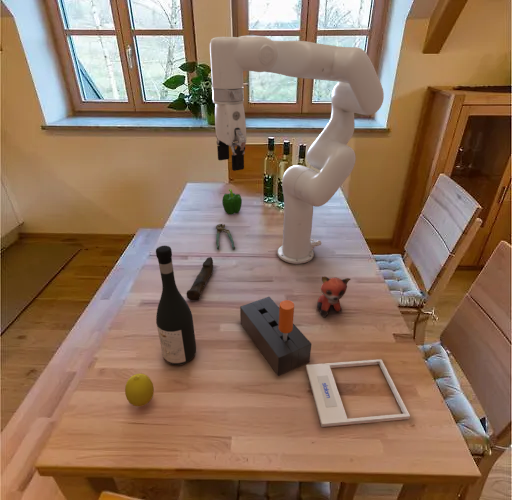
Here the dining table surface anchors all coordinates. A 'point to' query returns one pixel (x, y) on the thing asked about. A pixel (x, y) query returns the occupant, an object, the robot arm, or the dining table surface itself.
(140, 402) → the lemon
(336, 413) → the photo frame
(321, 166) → the robot arm
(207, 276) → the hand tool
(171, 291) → the wine bottle
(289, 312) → the orange tool handle
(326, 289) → the stuffed fox
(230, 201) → the bell pepper
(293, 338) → the rack
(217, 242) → the pliers
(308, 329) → the dining table surface
